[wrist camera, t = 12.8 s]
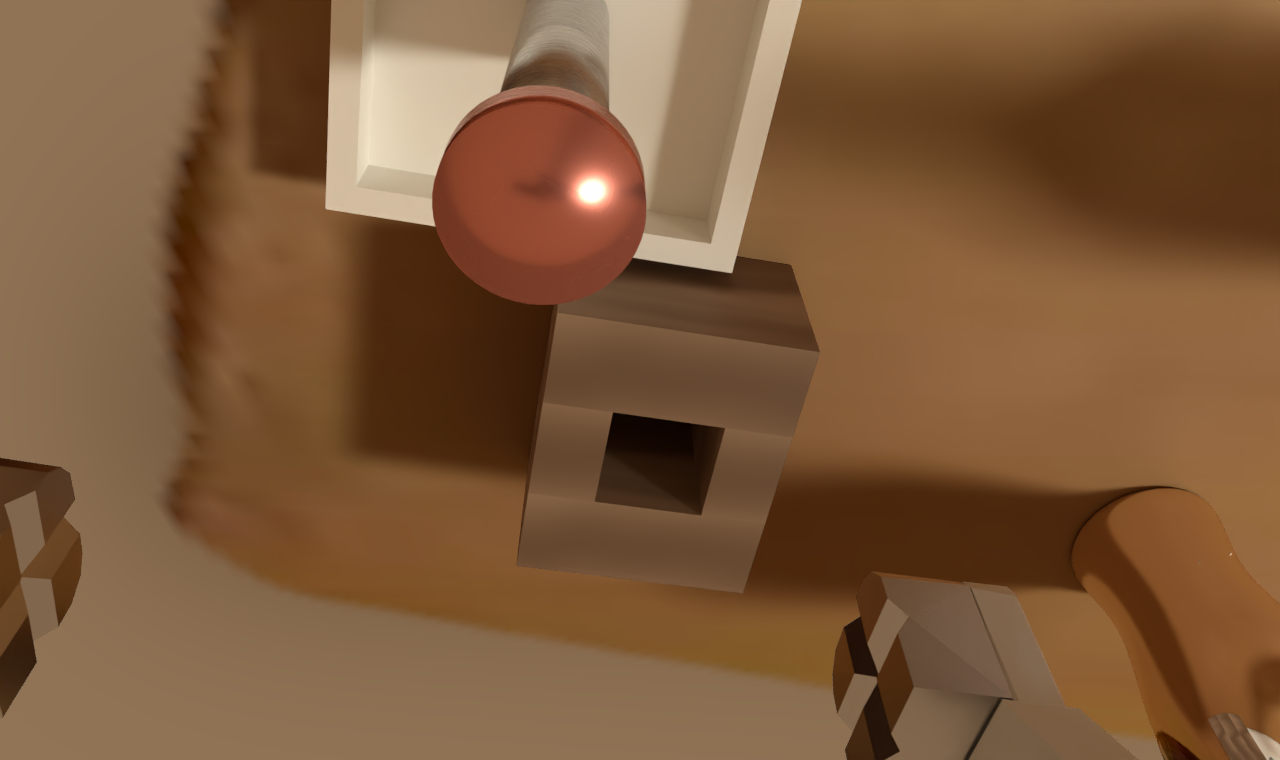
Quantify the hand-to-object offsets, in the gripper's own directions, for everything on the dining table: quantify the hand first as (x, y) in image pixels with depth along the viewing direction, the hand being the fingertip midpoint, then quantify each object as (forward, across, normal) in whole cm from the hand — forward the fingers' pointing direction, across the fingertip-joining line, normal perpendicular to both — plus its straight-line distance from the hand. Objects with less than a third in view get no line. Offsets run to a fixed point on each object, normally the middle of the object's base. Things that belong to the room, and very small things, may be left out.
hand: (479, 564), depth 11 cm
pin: (+24, 0, +1) cm, 24 cm away
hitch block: (+25, -5, +13) cm, 28 cm away
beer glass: (+25, -27, +18) cm, 41 cm away
